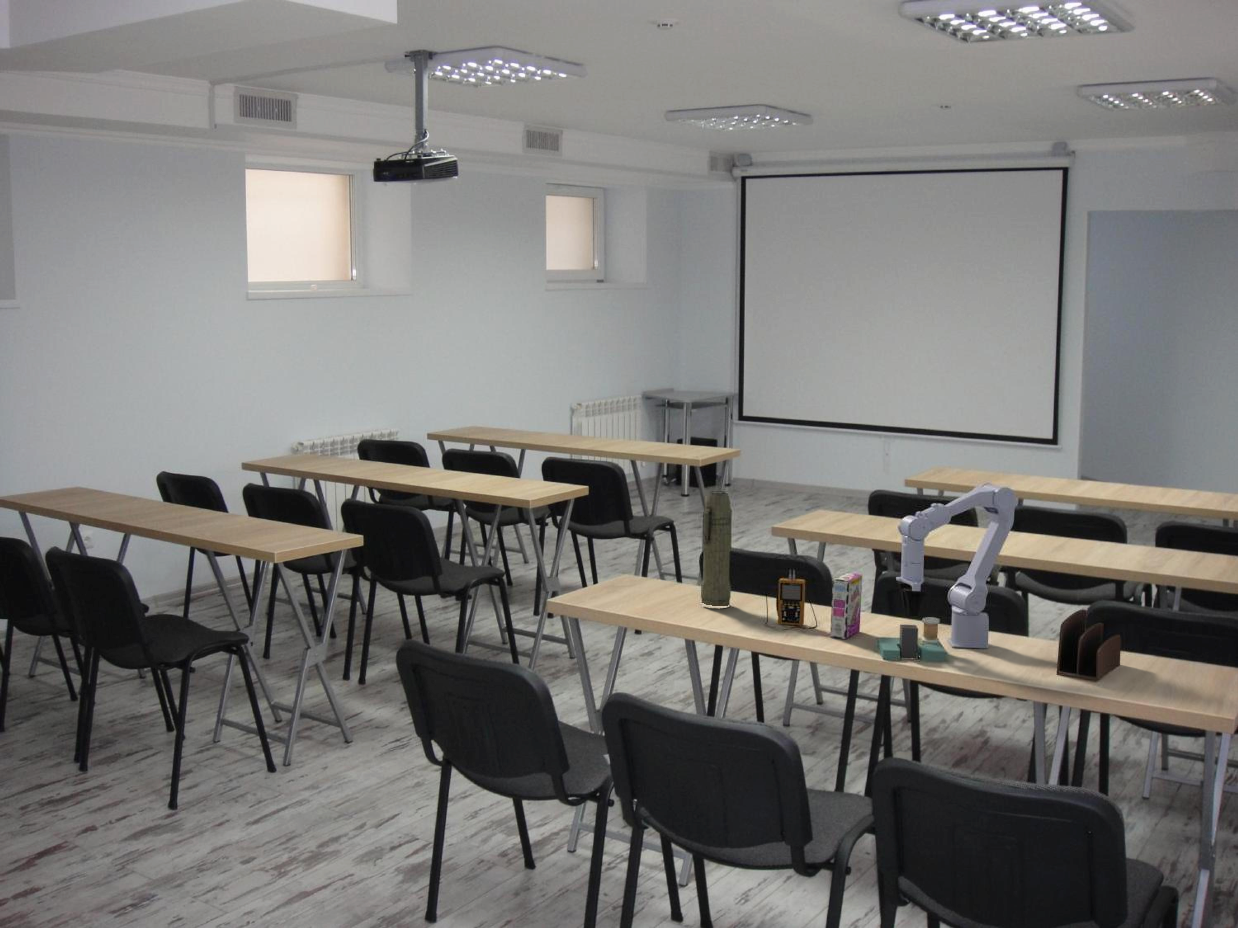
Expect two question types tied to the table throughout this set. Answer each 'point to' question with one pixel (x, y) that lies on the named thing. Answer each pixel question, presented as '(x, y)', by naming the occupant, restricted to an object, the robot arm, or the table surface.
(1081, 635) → the letter holder
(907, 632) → the terminal peg
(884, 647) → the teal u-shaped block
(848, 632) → the candy bar box
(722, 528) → the thermos
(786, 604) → the multimeter
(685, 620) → the table surface
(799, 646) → the table surface
